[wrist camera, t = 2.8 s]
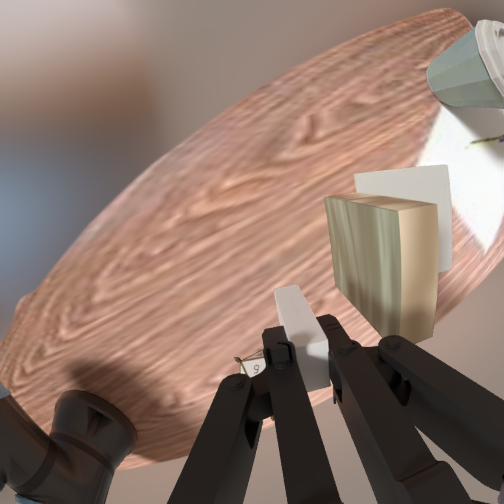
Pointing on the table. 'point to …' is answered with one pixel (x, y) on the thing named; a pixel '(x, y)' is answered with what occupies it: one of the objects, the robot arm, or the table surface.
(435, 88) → the disposable coffee cup
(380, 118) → the table surface
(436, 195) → the mat
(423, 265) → the wooden block
